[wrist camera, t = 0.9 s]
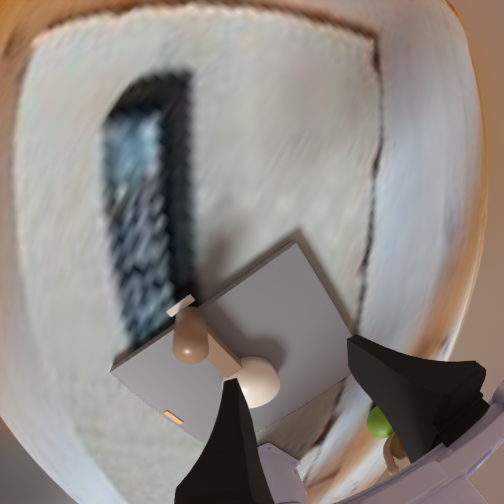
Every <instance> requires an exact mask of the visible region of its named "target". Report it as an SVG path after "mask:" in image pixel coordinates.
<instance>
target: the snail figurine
mask: <svg viewBox="0 0 504 504" xmlns="http://www.w3.org/2000/svg"><path fill="white" fill-rule="evenodd" d="M367 427H368V429H369V431H370V433H371V434H372V435H374V436H375V437H378V438H388V439H387V441H386V442H385V444H384V447H383V455H384V459H385V462H386V465H387V468H388V472H389V474H390V475H394V474H396V473H397V472H398V471H399V467H398V466H397V465H396V464H395V462H394V458H393V456H394V457H396V458H398V459H401V460H408V459H409V458H408V456H407V454H406V452H405V450H404V448H403V446H402V444H401V443H400V441H399V439H398V437H397V435H396V434H395V432H394V430H393V428H392V427H391V425H390V424H389V422H388V420H387V419H386V417H385V416H384V414H383V413H382V411H381V410H380V409H379V407H378V406H377V405H376V406H375V407H374V408H373V409H372V410H371V412H370V413H369V415H368V418H367Z"/></svg>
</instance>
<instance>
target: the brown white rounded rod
mask: <svg viewBox="0 0 504 504" xmlns="http://www.w3.org/2000/svg"><path fill="white" fill-rule="evenodd" d="M172 352H173V354H174V356H175V357H176V358H177V359H178V360H179V361H181V362H183V363H186V364H197V363H200V362H202V361H204V360H205V359H207V360H208V361H209V362H210V363H211V364H212V365H214V366H215V367H216V368H217V369H218V370H219V371H220V372H221V373H222V375H221V384H222V390H223V383H224V381H226V380H230V379H234V378H237V379H238V382H239V384H240V387H241V389H242V392H243V394H244V397H245V399H246V401H247V404H248V407H249V408H256V407H259V406H262V405H264V404H266V403H268V402H270V401H271V400H272V399H273V398H274V397H275V396H276V395H277V393H278V391H279V389H280V381H279V378H278V376H277V373H276V371H275V369H274V367H273V365H272V364H271V363H270V362H269V361H268V360H266V359H264V358H261V357H256V356H249V357H243V358H238V357H237V356H236V355H235V354H234V353H233V352H232V351H231V350H230V349H229V348H228V346H227V345H226V344H225V343H224V342H223V341H222V340H221V339H220V338H219V337H218V336H217V335H216V334H215V333H214V332H213V330H212V329H211V328H210V327H209V326H208V325H207V321H206V316H205V314H204V313H203V312H202V311H201V310H200V309H198V308H196V307H185V308H183V309H181V310H180V311H179V312H178V313H177V315H176V319H175V327H174V335H173V344H172Z"/></svg>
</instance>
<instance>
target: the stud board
mask: <svg viewBox="0 0 504 504" xmlns="http://www.w3.org/2000/svg"><path fill="white" fill-rule="evenodd" d="M194 301H195V299H194V298H193V297H192V296H191V295H188V296H187V297H186V298H184V299H183V300H181V301H180V302H179V303H177V304H176V305H174V306H173V307H172V308H170V309H169V310H167V311H166V312H167V313H168V314H169V315H170V316H171V317H172V316H174V315H175V314H177V313H178V312H179V311H180V310H181V309H183V308H185V307H186V306H188V305H189V304H191V303H192V302H194ZM197 308H198V309H200V310H201V311H202V312H203V313H204V314H205V316H206V321H207V325H208V326H209V327H210V328H211V329H212V330H213V332H214V333H215V334H216V335H217V336H218V337H219V338H220V339H221V340H222V341H223V342H224V343H225V344H226V345H227V346H228V348H229V349H230V350H231V351H232V352H233V353H234V354H235V355H236V356H237V357H238V358H243V357H249V356H256V357H261V358H264V359H266V360H268V361H269V362H270V363H271V364H272V365H273V367H274V369H275V371H276V373H277V376H278V378H279V381H280V389H279V391H278V393H277V395H276V396H275V397H274V398H273V399H272V400H271V401H270V402H268V403H266V404H264V405H262V406H259V407H256V408H249V410H250V414H251V417H252V420H253V426H254V431H255V433H256V432H258V431H259V430H261V429H263V428H265V427H267V426H269V425H271V424H273V423H274V422H276V421H278V420H280V419H282V418H283V417H285V416H287V415H288V414H290V413H292V412H294V411H295V410H297V409H298V408H300V407H302V406H303V405H305V404H307V403H308V402H310V401H311V400H313V399H314V398H316V397H317V396H319V395H321V394H322V393H324V392H325V391H327V390H328V389H329V388H331V387H332V386H334V385H335V384H337V383H338V382H339V381H341V380H342V379H344V378H345V377H346V376H348V375H349V374H350V373H351V371H350V369H349V368H348V354H347V338H350V337H352V335H351V334H350V332H349V330H348V328H347V327H346V325H345V323H344V321H343V320H342V318H341V316H340V314H339V313H338V311H337V309H336V307H335V306H334V304H333V302H332V301H331V299H330V297H329V295H328V294H327V292H326V290H325V289H324V287H323V285H322V284H321V282H320V280H319V279H318V277H317V275H316V274H315V272H314V270H313V269H312V267H311V266H310V264H309V262H308V261H307V259H306V257H305V256H304V254H303V253H302V251H301V249H300V248H299V246H298V244H297V243H296V242H294V241H293V240H292V241H290V242H289V243H288V244H286V245H285V246H283V247H282V248H281V249H279V250H278V251H276V252H275V253H274V254H272V255H271V256H269V257H268V258H267V259H265V260H264V261H263V262H261V263H260V264H258V265H257V266H256V267H254V268H253V269H251V270H250V271H248V272H247V273H246V274H244V275H243V276H241V277H240V278H239V279H237V280H236V281H234V282H233V283H232V284H230V285H229V286H227V287H226V288H224V289H223V290H222V291H220V292H219V293H217V294H216V295H215V296H213V297H212V298H210V299H209V300H207V301H206V302H205V303H203V304H202V305H200V306H199V307H197ZM174 327H175V323H174V324H173V325H172V326H170V327H169V328H167V329H166V330H164V331H163V332H161V333H160V334H158V335H157V336H156V337H154V338H153V339H151V340H150V341H148V342H147V343H145V344H144V345H142V346H141V347H139V348H138V349H137V350H135V351H134V352H132V353H131V354H129V355H128V356H126V357H125V358H123V359H122V360H120V361H119V362H117V363H116V364H114V365H113V366H112V368H111V371H110V373H111V374H112V375H113V376H115V377H116V378H117V379H118V380H119V381H120V382H121V383H122V384H124V385H125V386H126V387H127V388H128V389H129V390H131V391H132V392H133V393H134V394H135V395H137V396H138V397H139V398H140V399H142V400H143V401H144V402H145V403H147V404H148V405H149V406H151V407H152V408H153V409H155V410H156V411H157V412H159V413H160V414H161V415H163V416H164V417H165V418H167V419H168V420H170V421H171V422H173V423H174V424H175V425H177V426H178V427H180V428H181V429H183V430H184V431H186V432H187V433H189V434H190V435H192V436H194V437H195V438H197V439H198V440H200V441H202V442H203V443H205V444H207V442H208V440H209V437H210V435H211V433H212V430H213V427H214V424H215V421H216V418H217V415H218V411H219V407H220V403H221V397H222V391H223V390H222V384H221V375H222V373H221V372H220V371H219V370H218V369H217V368H216V367H215V366H214V365H212V364H211V363H210V362H209V361H208V360H207V359H205V360H204V361H202V362H200V363H197V364H186V363H183V362H181V361H179V360H178V359H177V358H176V357H175V356H174V354H173V352H172V344H173V335H174Z"/></svg>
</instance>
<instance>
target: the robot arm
mask: <svg viewBox="0 0 504 504" xmlns="http://www.w3.org/2000/svg"><path fill="white" fill-rule="evenodd" d="M347 354H348V368H349V369H350V371H351V373H352V374H353V376H354V378H355V379H356V381H357V382H358V383H359V385H360V386H361V387H362V388H363V389H364V391H365V392H366V393H367V394H368V395H369V397H370V398H371V399H372V400H373V401H374V403H375V404H376V405H377V406H378V407H379V409H380V410H381V411H382V413H383V414H384V416H385V417H386V419H387V420H388V422H389V424H390V425H391V427H392V428H393V430H394V432H395V434H396V435H397V437H398V439H399V441H400V443H401V444H402V446H403V448H404V450H405V452H406V454H407V456H408V458H409V460H410V462H411V465H409V466H407V467H406V468H404V469H402V470H401V471H399V472H397V473H396V474H394V475H392V476H390V477H389V478H387V479H385V480H383V481H381V482H379V483H378V484H376V485H374V486H372V487H370V488H368V489H366V490H364V491H361V492H359V493H357V494H355V495H353V496H351V497H348V498H346V499H344V500H341V501H339V502H336V503H334V504H488V503H487V502H486V500H485V499H484V498H483V497H482V496H481V495H480V493H479V492H478V491H477V490H476V489H475V488H474V486H473V485H472V484H471V483H470V482H469V480H468V479H467V478H468V477H469V476H470V475H471V474H472V473H474V472H475V471H476V470H477V469H478V468H479V467H480V466H481V465H482V464H483V463H484V462H485V461H486V460H487V459H488V458H489V457H490V456H491V455H492V454H493V453H494V451H495V450H496V449H497V448H498V447H499V446H500V445H501V444H502V443H503V442H504V380H503V382H502V383H501V384H500V385H499V386H498V387H497V389H496V391H495V392H494V394H493V396H492V399H491V400H490V401H489V402H488V403H487V402H486V401H485V400H483V399H482V397H483V394H482V393H481V392H480V389H481V387H482V384H483V382H484V379H485V376H486V369H485V368H484V367H482V366H481V365H480V364H478V363H477V362H476V361H461V362H446V361H435V360H428V359H422V358H418V357H413V356H410V355H406V354H403V353H400V352H397V351H394V350H391V349H389V348H386V347H384V346H382V345H379V344H377V343H375V342H372V341H370V340H368V339H366V338H364V337H362V336H359V335H357V334H356V335H354V336H352V337H350V338H347ZM300 464H301V462H300V461H299V460H297V459H295V458H294V457H292V456H290V455H289V454H287V453H285V452H284V451H282V450H280V449H279V448H277V447H276V446H274V445H272V444H271V443H265V444H263V445H261V446H259V447H257V442H256V437H255V431H254V426H253V420H252V417H251V414H250V410H249V407H248V404H247V401H246V399H245V397H244V394H243V392H242V389H241V387H240V384H239V382H238V379H237V378H234V379H230V380H226V381H224V383H223V391H222V397H221V403H220V407H219V411H218V415H217V418H216V421H215V424H214V427H213V430H212V433H211V435H210V437H209V440H208V442H207V444H206V446H205V448H204V450H203V452H202V454H201V455H200V457H199V459H198V460H197V462H196V463H195V465H194V466H193V468H192V469H191V471H190V472H189V473H188V475H187V476H186V477H185V478H184V479H183V480H182V482H181V483H180V484H179V485H178V486H177V487H176V491H175V499H174V504H307V493H306V491H305V488H304V486H303V483H302V481H301V478H300V476H299V473H298V471H297V468H296V466H298V465H300Z"/></svg>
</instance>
